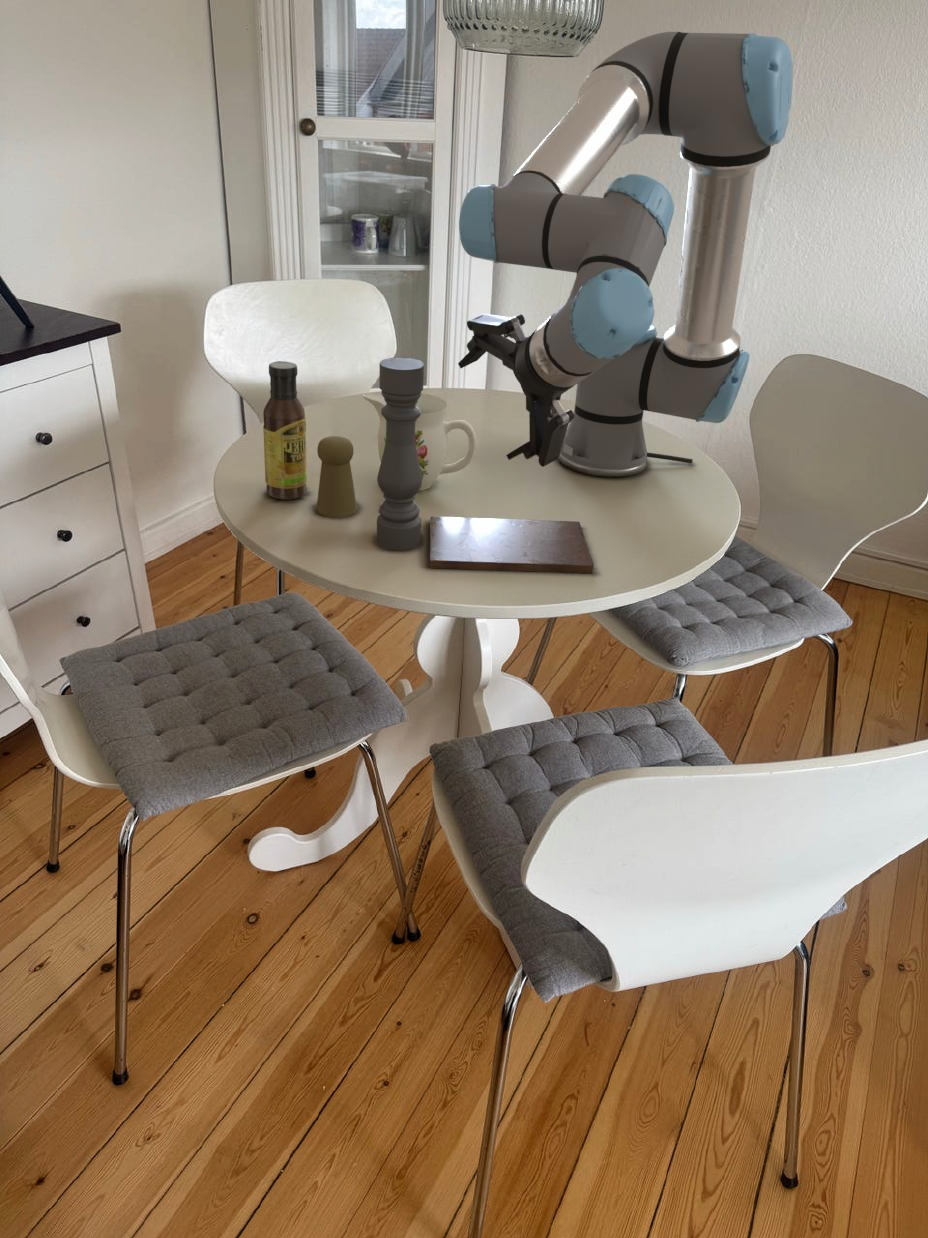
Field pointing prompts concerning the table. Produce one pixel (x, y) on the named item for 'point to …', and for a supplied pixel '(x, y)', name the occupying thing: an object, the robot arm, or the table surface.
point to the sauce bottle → (284, 435)
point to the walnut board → (508, 545)
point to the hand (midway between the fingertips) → (491, 407)
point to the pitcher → (429, 436)
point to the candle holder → (400, 454)
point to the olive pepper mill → (336, 478)
